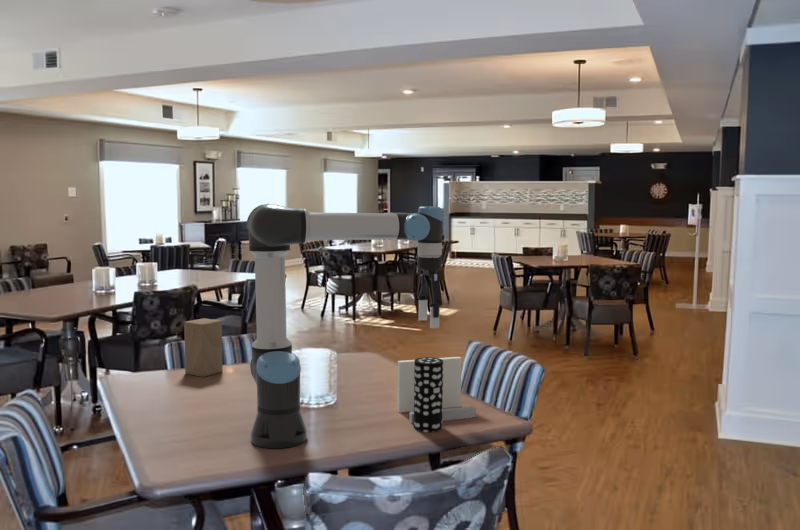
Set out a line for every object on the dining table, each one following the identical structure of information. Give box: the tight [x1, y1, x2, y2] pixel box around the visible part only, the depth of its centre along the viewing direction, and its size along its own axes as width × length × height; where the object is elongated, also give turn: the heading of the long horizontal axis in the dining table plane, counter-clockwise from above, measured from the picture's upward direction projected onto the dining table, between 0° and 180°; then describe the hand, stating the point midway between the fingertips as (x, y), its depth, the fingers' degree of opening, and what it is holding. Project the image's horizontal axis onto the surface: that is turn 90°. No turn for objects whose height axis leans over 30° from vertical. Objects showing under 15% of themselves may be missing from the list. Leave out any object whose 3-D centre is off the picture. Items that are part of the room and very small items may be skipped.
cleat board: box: [396, 356, 477, 425], centre depth 212 cm, size 21×14×16 cm, turn 109°
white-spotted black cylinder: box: [413, 356, 443, 433], centre depth 199 cm, size 8×8×20 cm
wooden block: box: [183, 317, 224, 378], centre depth 260 cm, size 10×10×20 cm
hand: (428, 324), depth 214 cm, fingers open, 13 cm apart
